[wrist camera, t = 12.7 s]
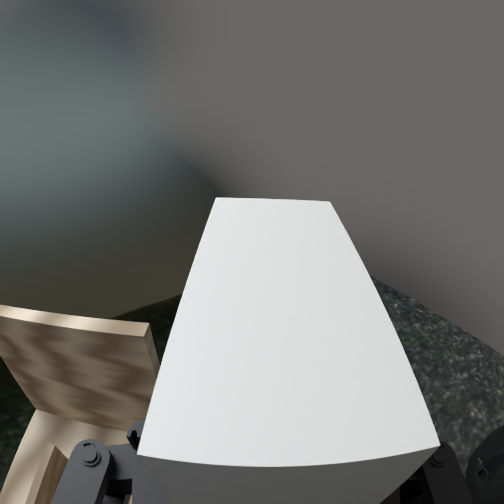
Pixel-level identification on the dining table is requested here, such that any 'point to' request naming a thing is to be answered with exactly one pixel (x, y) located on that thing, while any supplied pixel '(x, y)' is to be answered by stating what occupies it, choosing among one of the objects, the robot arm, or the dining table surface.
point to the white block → (282, 370)
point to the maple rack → (72, 390)
